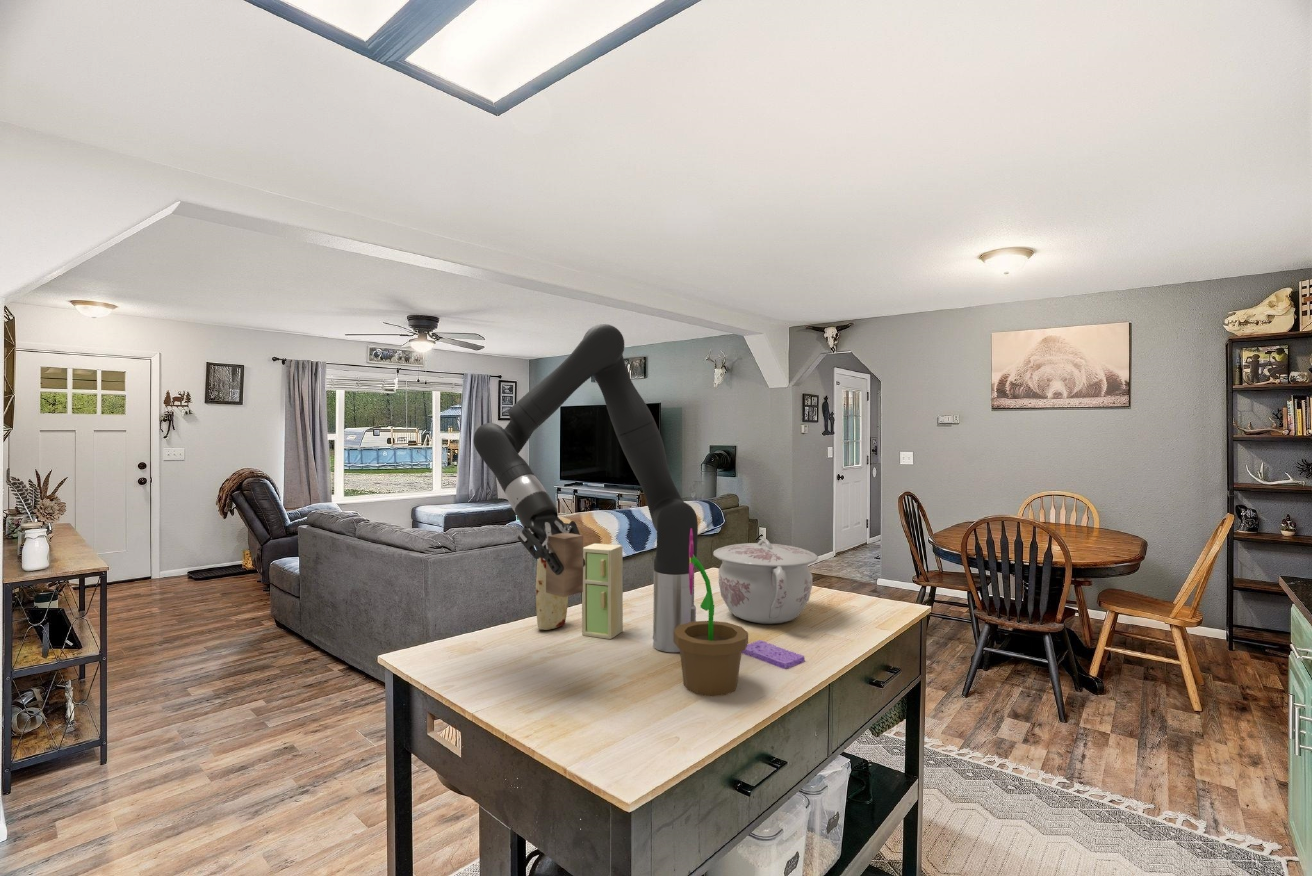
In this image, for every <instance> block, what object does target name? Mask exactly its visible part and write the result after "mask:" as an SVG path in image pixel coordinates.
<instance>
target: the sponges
mask: <svg viewBox="0 0 1312 876" xmlns="http://www.w3.org/2000/svg"><path fill="white" fill-rule="evenodd" d="M741 654H743V655H745V656H749V657H752V658H755V659H757V660H760V661H761V662H765V663H768V664H770V665H773V666H776V667H777V668H780V669H786V670H787V669H789V667H790V668H792V667H794V666H797V665H798V664H799V665H800V664H802V663H804V662H805V661H806V660H805V655H802V654H801V653H800V654H799V653H796V652H794V651H791V650H788V649H785V648H783V647H780V646H777V645H774V644H772V643H769V642H767V641H765V640H761V639H758V640H756V641H753V642H751V643H748V645H747V647H746V649H745V650H743V651H742V652H741Z"/></svg>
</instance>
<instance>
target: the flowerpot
mask: <svg viewBox="0 0 1312 876" xmlns="http://www.w3.org/2000/svg"><path fill="white" fill-rule="evenodd" d="M689 559H690V564H689V588H690V595H692V588H693V568H694V569H695V567H696V568H697V569H698V570H699V572H700V574H701V577H702V578H703V581H704V583H705V588H706V594H705V596H704V599H702V602H701V604H700V608H701V609H702V610H704V611H708V620H699V621H698V620H696V621H695V622H689V623H685V624H682V625H679V626H678V627H677V628H676V629H675V630H674V638H673V642H674V643H675V644H676V646H677V647H678V648H679V649H680V652H679V655H680V665H681V673H682V681H683V683H682V684H683V685H684V686H685V688H686V690H687V691H690V692H692V693H694V694H696V695H699V696H708V697H719V696H726V695H729V694H731V693H733V692H735V691H736V689H737V687H738V681H739V673H740V665H741V658H742V653H741V652H742V651H743V650H745V649H746V647H747V645H748V644H749V632H748V631H747V630H746V629H744V628H743V626H740V625H737V624H733V623H730V622H726V621H716V620H714V615H715V604H714V597H713V596H714V595H713V592H712V585H711V580H710V578H709V577H708V574H707V572H706V570H705V568H704V566H703V564H702V563H701V562H700V560H699V559H698V558H697V557H695V556H694V554H693V533H692V528H691V529H690V545H689Z"/></svg>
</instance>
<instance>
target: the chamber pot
mask: <svg viewBox="0 0 1312 876" xmlns="http://www.w3.org/2000/svg"><path fill="white" fill-rule="evenodd" d="M712 555H713V556H714V557H715V558H716V559H718V560H720V561H721V562H722V563H721V564H720V567H719V568H718V586H719V591H720V596H721V598H722V600H723V603H725V605H726V607H727V608H728V610H729V612H731V613H732V614H733V615H734V616H735V617H737V618H739V619H741V620H743V621H745V622H750V623H752V624H753V623H754V624H759V625H760V624H761V625H777V624H783V623H787V622H790V621H793V620H795V619H796V618H797V617H799V615H800V614H801V613H802V611H803V610H804V608H805V606H806V604H808V602H809V600H810V598H811V592H812V589H813V573H812V572H811V570H810V569H809V565H811V564H814V563H816V562H817V561H818V560H819V557H818V555H817V554H816V553H815V552H812V551H810V550H808V549H804V548H801V547H797V546H794V545H785V544H780V543H771V542H770V541H769V540H768V539H767V538H762V539H760V540H759V541H758V542H751V543H749V542H747V543H735V544H730V545H725V546H723V547H719V548H717V549H715V550H713V553H712Z"/></svg>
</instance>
